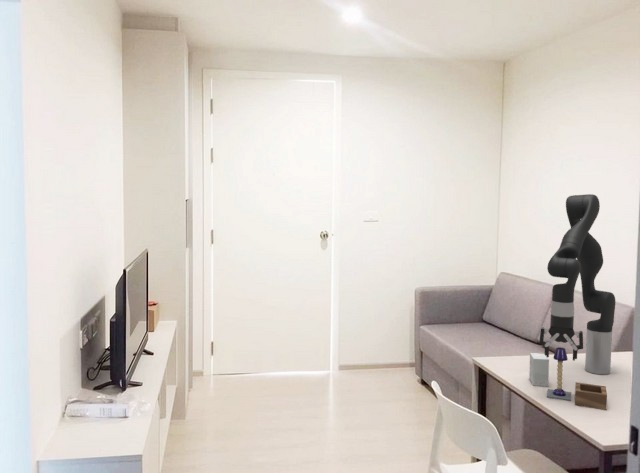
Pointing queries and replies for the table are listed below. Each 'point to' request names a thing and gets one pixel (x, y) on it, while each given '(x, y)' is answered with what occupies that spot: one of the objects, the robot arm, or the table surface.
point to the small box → (539, 369)
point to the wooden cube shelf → (591, 396)
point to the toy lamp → (560, 370)
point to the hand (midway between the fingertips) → (560, 358)
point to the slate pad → (551, 395)
